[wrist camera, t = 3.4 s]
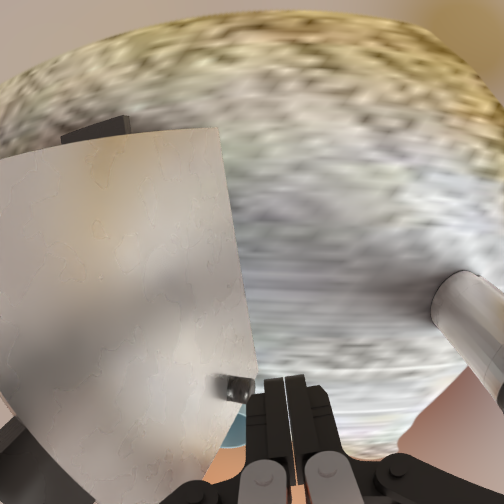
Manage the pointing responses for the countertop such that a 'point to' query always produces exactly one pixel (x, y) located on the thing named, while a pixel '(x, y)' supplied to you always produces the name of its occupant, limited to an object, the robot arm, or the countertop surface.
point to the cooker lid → (118, 318)
